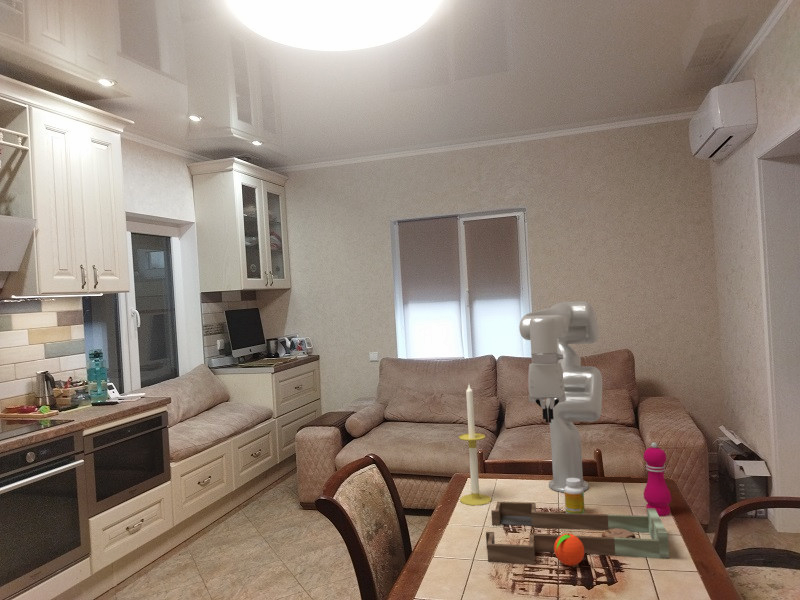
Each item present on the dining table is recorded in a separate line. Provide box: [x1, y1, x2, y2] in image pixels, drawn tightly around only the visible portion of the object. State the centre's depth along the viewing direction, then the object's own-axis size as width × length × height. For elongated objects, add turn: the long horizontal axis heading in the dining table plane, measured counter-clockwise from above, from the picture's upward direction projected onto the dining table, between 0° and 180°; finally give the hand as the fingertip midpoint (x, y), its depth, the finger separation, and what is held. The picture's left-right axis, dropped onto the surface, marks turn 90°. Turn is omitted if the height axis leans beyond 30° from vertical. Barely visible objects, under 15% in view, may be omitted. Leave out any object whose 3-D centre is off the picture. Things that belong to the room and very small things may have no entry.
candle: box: [458, 384, 492, 507], centre depth 179 cm, size 10×10×38 cm
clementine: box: [553, 533, 585, 567], centre depth 133 cm, size 8×7×7 cm
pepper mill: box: [643, 441, 672, 517], centre depth 161 cm, size 7×7×20 cm
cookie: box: [601, 528, 641, 539], centre depth 142 cm, size 10×11×3 cm
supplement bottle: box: [563, 478, 586, 514], centre depth 164 cm, size 5×5×10 cm
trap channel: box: [485, 501, 670, 565], centre depth 146 cm, size 30×43×6 cm
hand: (548, 421), depth 164 cm, fingers closed
